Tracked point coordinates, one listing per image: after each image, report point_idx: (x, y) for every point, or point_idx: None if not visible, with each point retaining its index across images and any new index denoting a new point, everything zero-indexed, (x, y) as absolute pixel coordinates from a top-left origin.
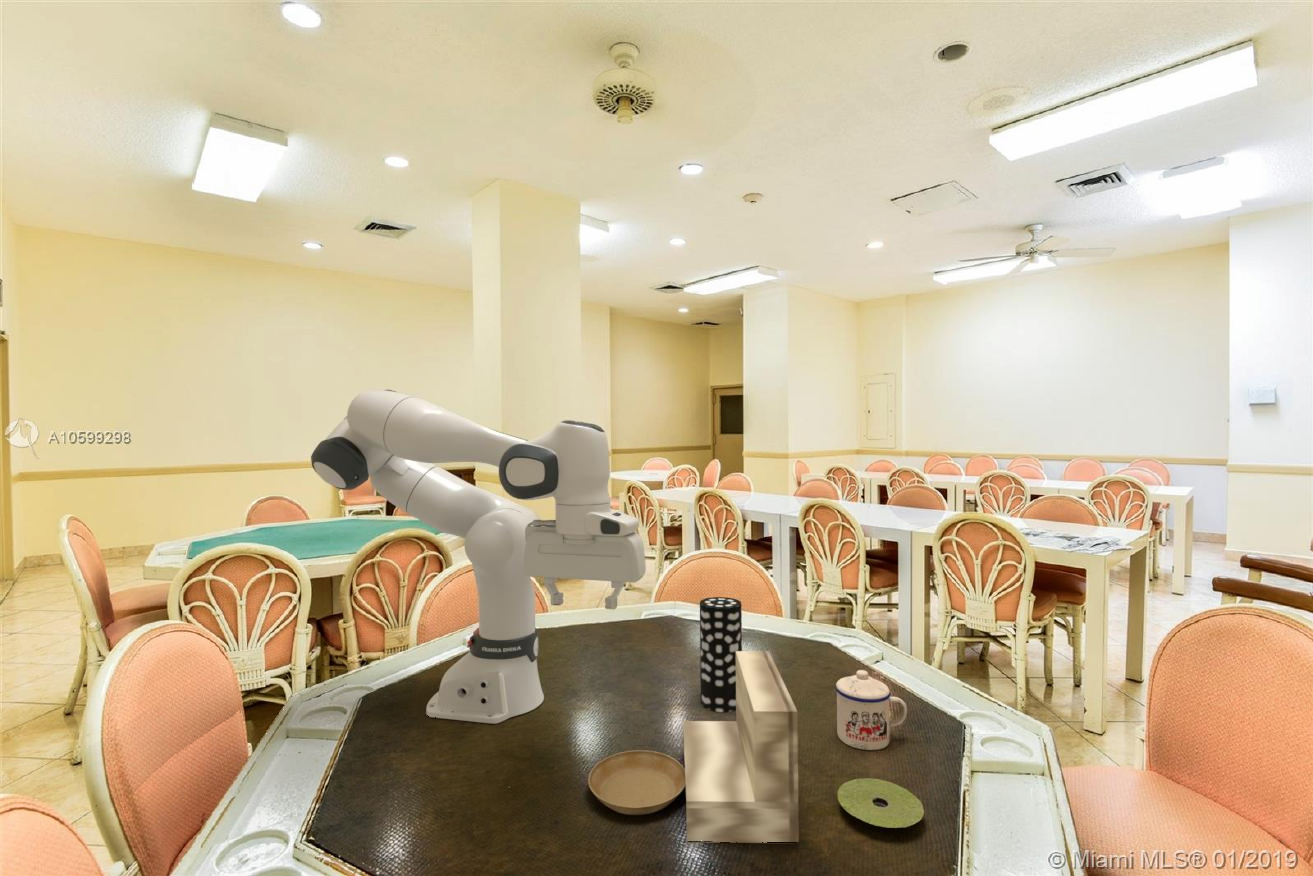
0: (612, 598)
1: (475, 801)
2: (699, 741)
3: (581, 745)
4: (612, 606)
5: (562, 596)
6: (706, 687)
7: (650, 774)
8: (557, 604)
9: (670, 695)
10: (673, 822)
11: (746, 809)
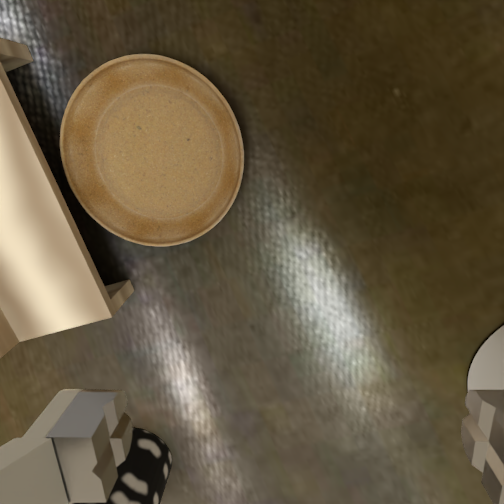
0: (27, 439)
1: (441, 22)
2: (50, 251)
3: (320, 264)
4: (61, 397)
5: (486, 474)
6: (139, 465)
7: (158, 207)
8: (485, 390)
9: (230, 463)
10: (68, 90)
11: None
